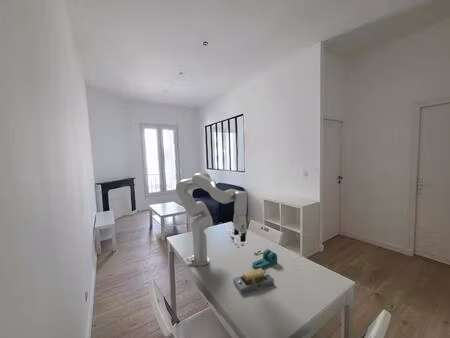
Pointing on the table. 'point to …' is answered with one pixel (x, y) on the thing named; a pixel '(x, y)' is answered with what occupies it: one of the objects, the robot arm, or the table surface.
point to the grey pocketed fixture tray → (244, 289)
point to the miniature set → (237, 237)
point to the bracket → (265, 260)
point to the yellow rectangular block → (254, 276)
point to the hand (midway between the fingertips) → (239, 238)
